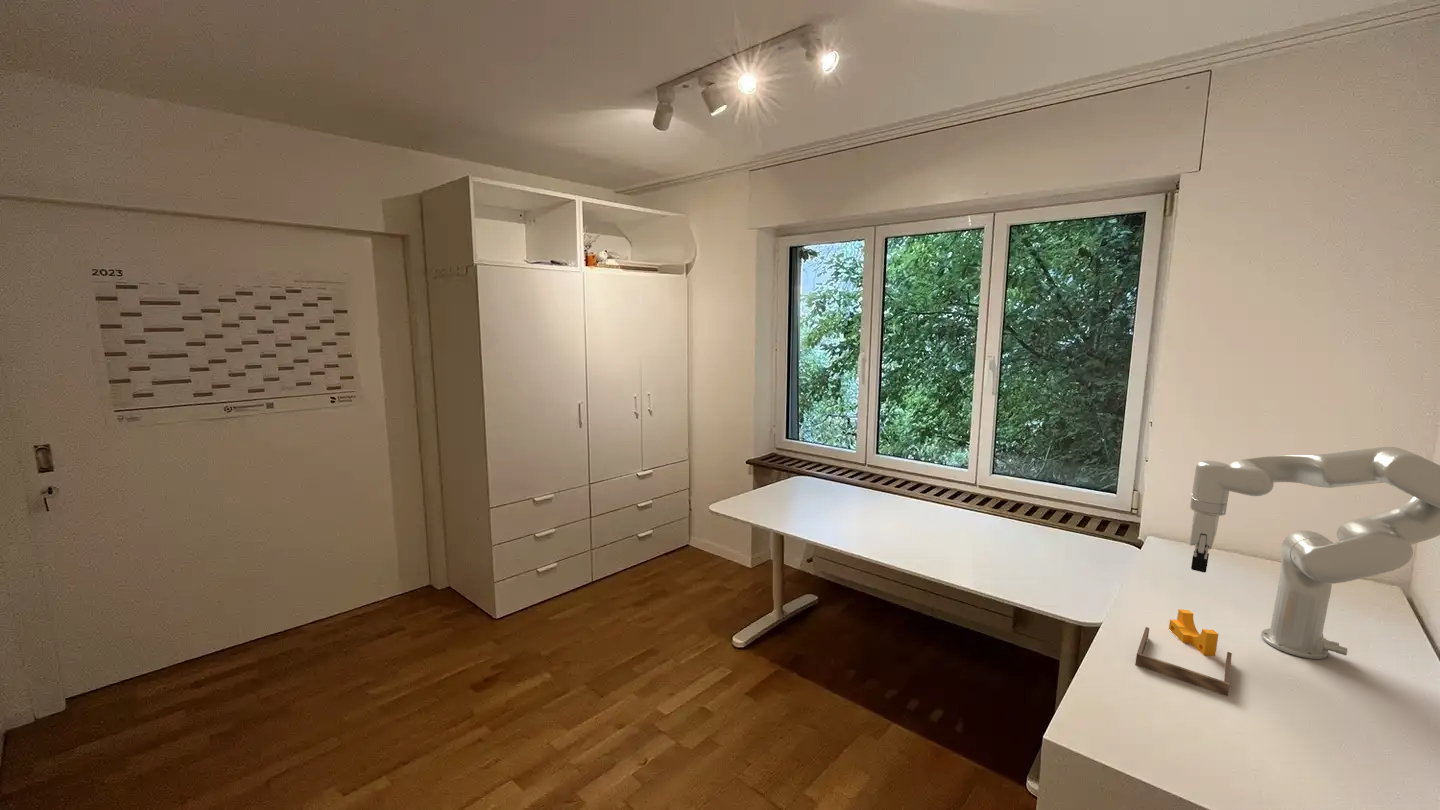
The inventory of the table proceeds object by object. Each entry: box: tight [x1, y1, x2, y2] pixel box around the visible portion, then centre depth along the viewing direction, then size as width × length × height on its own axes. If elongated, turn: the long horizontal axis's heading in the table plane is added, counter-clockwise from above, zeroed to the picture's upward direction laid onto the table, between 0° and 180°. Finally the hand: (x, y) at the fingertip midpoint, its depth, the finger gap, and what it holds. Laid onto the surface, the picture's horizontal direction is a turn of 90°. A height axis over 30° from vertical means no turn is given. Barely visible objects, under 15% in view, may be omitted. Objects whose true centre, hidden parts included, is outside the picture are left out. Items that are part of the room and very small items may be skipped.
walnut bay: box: [1134, 626, 1233, 697], centre depth 143 cm, size 18×17×3 cm
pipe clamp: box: [1168, 609, 1219, 657], centre depth 153 cm, size 12×4×6 cm, turn 170°
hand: (1199, 567), depth 159 cm, fingers open, 3 cm apart
